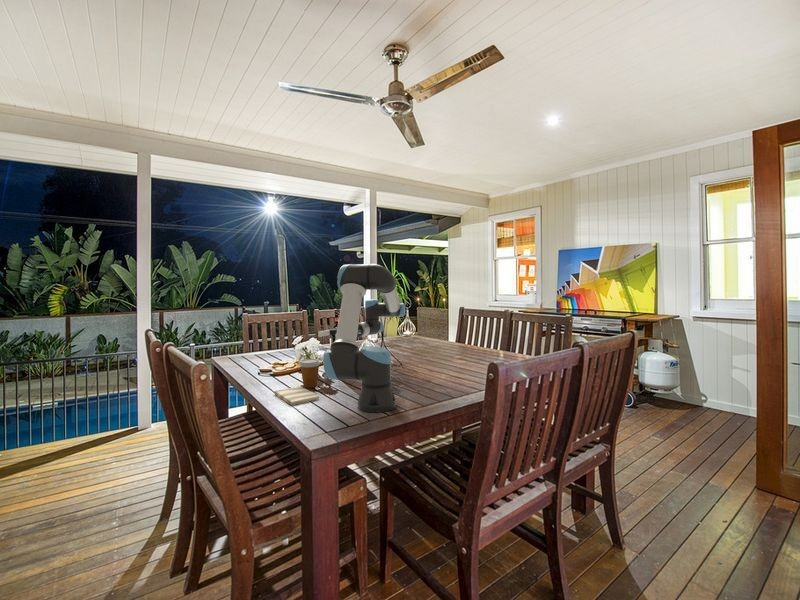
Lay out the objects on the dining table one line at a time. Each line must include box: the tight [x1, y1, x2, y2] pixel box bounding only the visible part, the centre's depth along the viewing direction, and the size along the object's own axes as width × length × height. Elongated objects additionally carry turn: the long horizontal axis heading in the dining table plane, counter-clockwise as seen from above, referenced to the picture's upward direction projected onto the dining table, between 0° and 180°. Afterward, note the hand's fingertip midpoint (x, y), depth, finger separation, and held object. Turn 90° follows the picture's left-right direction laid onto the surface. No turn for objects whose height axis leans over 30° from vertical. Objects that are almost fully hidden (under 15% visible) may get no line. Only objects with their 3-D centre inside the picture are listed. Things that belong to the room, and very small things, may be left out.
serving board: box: [274, 385, 320, 406], centre depth 164 cm, size 19×12×2 cm, turn 38°
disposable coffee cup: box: [298, 358, 321, 388], centre depth 180 cm, size 10×10×12 cm
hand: (327, 335), depth 187 cm, fingers open, 13 cm apart
